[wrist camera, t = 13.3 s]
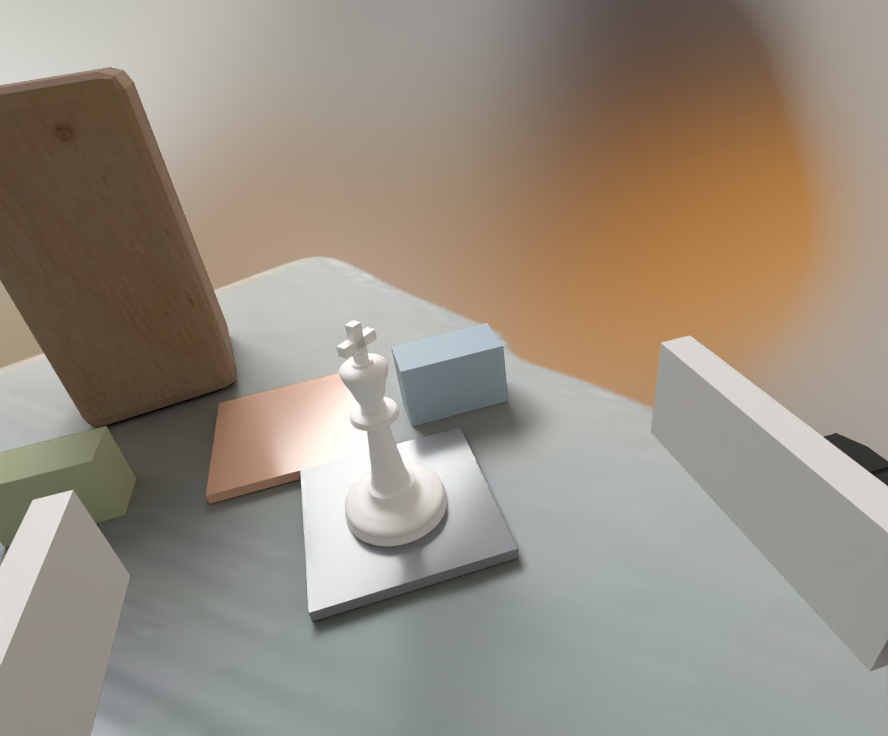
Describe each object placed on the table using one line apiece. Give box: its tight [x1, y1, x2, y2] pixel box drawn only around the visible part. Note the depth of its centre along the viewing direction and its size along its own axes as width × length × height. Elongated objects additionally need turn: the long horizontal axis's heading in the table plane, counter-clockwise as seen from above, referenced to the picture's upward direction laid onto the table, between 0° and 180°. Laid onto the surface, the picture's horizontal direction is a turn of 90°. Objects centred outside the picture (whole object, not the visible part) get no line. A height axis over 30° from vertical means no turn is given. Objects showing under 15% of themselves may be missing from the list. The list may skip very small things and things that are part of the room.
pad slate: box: [300, 427, 518, 622], centre depth 28 cm, size 9×9×1 cm
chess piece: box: [337, 320, 447, 547], centre depth 25 cm, size 5×5×10 cm
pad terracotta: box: [205, 373, 369, 504], centre depth 34 cm, size 9×9×1 cm
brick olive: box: [0, 426, 137, 548], centre depth 30 cm, size 6×3×4 cm, turn 105°
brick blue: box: [391, 323, 508, 427], centre depth 34 cm, size 6×3×4 cm, turn 105°
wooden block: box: [0, 67, 236, 427], centre depth 37 cm, size 10×10×20 cm
